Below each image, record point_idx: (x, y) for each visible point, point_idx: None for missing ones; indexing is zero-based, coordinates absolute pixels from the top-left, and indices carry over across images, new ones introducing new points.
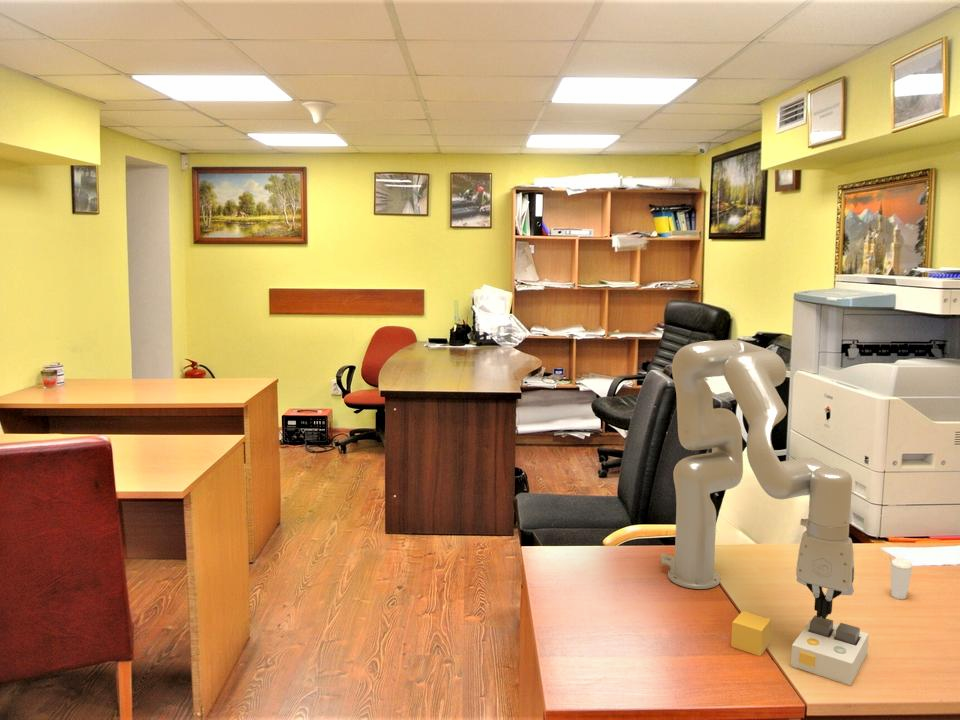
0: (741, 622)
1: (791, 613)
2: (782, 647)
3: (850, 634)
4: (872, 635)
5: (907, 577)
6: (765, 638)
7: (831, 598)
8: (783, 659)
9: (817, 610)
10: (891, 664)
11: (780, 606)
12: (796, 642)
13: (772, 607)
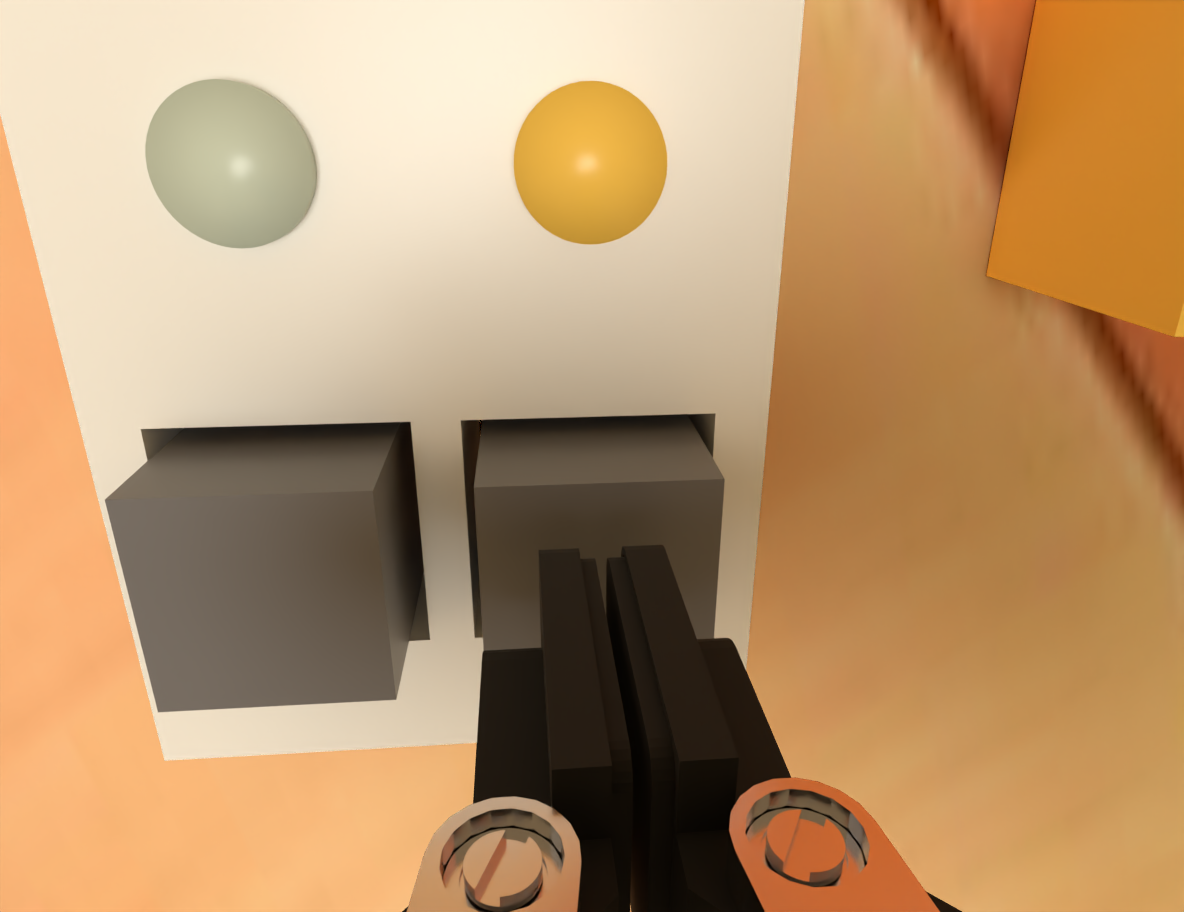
0: None
1: (893, 836)
2: (870, 287)
3: (181, 493)
4: (320, 889)
5: None
6: (1099, 118)
7: (428, 879)
8: (822, 52)
9: (673, 596)
10: (23, 590)
11: (979, 876)
12: (774, 18)
13: (1031, 834)
